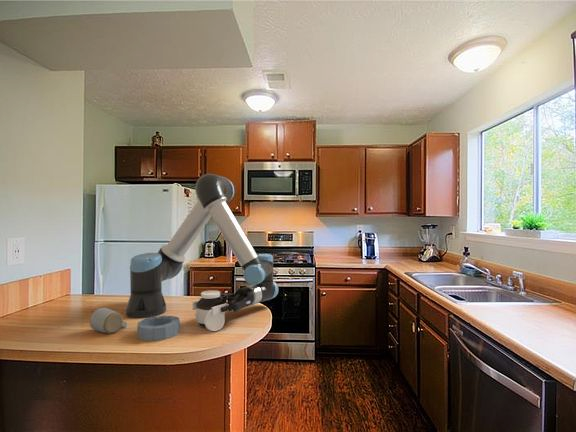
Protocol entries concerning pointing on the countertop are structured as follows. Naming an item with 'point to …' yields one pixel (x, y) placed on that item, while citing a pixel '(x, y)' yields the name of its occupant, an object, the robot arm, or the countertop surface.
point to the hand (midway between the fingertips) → (202, 308)
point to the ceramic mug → (106, 321)
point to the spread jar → (210, 310)
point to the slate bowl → (158, 328)
